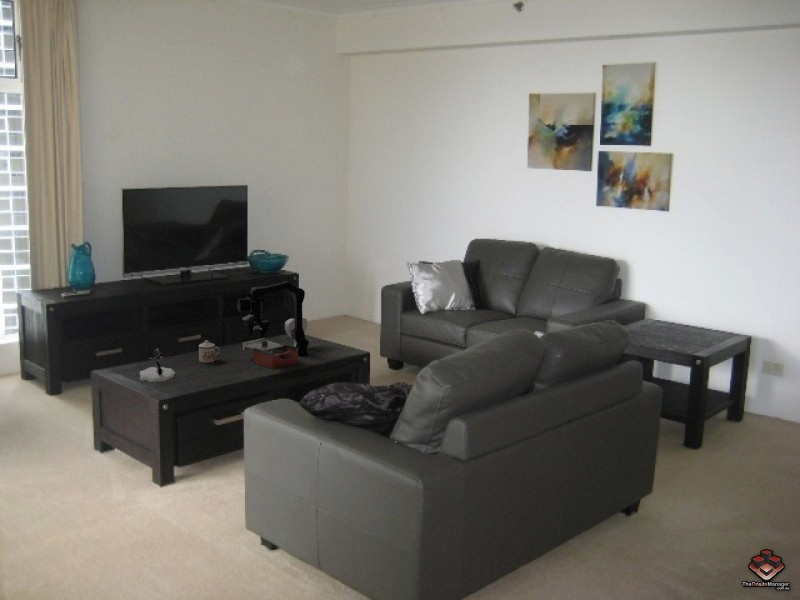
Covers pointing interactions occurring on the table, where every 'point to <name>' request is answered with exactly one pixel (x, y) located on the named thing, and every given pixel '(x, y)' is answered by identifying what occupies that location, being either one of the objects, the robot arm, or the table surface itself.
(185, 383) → the table surface
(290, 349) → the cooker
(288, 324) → the heart sculpture
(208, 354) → the teacup with lid
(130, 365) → the table surface
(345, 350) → the table surface
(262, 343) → the lid
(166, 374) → the figurine
